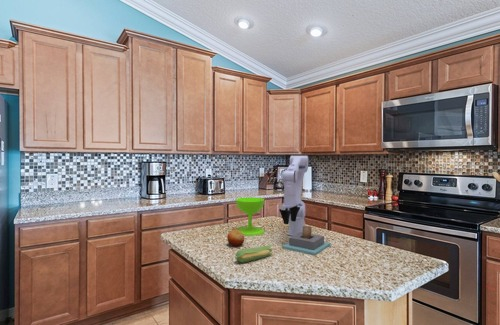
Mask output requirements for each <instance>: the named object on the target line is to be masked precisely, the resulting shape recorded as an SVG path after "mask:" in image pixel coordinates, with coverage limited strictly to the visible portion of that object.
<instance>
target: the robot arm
mask: <svg viewBox="0 0 500 325" xmlns="http://www.w3.org/2000/svg"><path fill="white" fill-rule="evenodd" d="M308 170H309V155H290V157H289V164H288V167H287V169H286V170H284V171H283V173H282V182H283V183H282V184H283V193H284V194H283V203H281V205H280V209H278V210H279V211H278V212H279V213H280V215H281V217H282V218H281V219H282V222H283V225H288V232H286V233H285V236H286V235H287V236H290V237H292V236H294V235H296V234H298V233H300V232H302V233H303V226H306V221H305V217H306V203H305V202H304V201H303V200H302V193H303V182H304V177H305V176H304V175H305V173H307V172H308Z"/></svg>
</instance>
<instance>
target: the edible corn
mask: <svg viewBox="0 0 500 325" xmlns="http://www.w3.org/2000/svg"><path fill="white" fill-rule="evenodd" d="M272 247H273V245H272V244H271V245H270V244H269V245H262V246H258V247H257V246H256V247H248V248H242V249H239V250H237V251H236V253H235V256H234V259H235V260H236V261H237V262H239V263H241V264H245V263H248V262H252V261H255V260H261V259H264V258H269V257H271V254H272V251H273V249H271V248H272Z"/></svg>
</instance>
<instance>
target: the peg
mask: <svg viewBox="0 0 500 325" xmlns="http://www.w3.org/2000/svg"><path fill="white" fill-rule="evenodd" d="M311 234H312V226H307V225H305V226H303V234H302V238H306V239H311Z"/></svg>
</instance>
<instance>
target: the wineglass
mask: <svg viewBox="0 0 500 325" xmlns="http://www.w3.org/2000/svg"><path fill="white" fill-rule="evenodd" d="M235 204H236V206H237V208H238V209H239V210H240V211H241V212H242V213H244V214H247V217H248V219H247V223H248V224H247V226H242V227H239V228H237V229H236V230H238V231H241V233H243V234H244V236H249V237H250V236H259V235H263V234H264V233H265V230H264V229H263V228H261V227H258V226H253V224H252V223H253V222H252V221H253V220H252V218H253V214H256V213H258V212H259V211H261V209H262V208H263V207H264V204H265V199H264V198H261V197H248V196H247V197H239V198H236V199H235Z"/></svg>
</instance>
